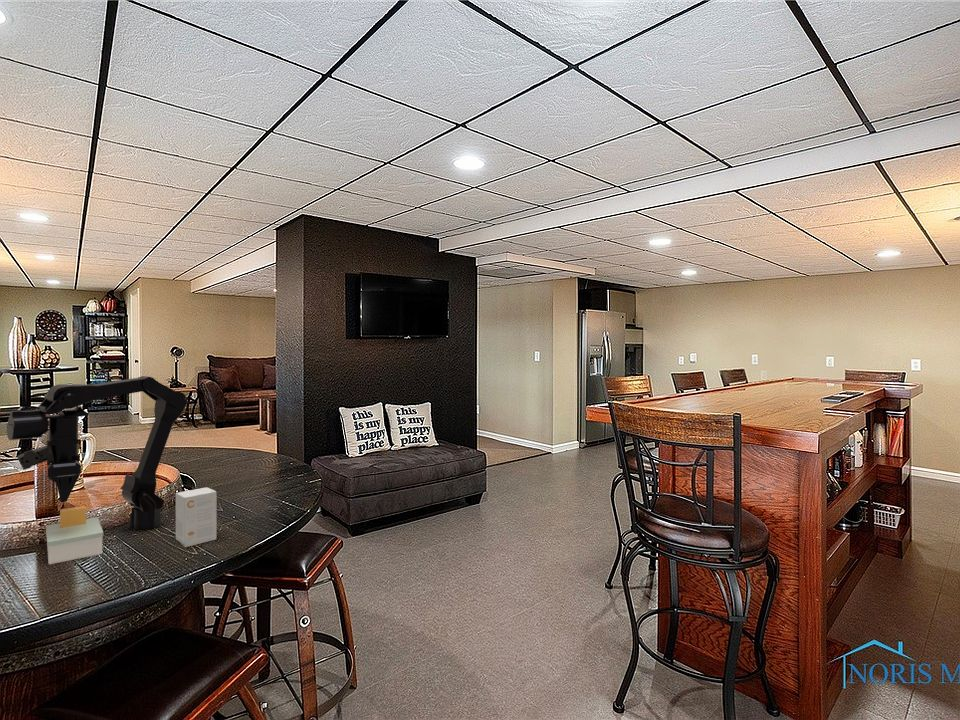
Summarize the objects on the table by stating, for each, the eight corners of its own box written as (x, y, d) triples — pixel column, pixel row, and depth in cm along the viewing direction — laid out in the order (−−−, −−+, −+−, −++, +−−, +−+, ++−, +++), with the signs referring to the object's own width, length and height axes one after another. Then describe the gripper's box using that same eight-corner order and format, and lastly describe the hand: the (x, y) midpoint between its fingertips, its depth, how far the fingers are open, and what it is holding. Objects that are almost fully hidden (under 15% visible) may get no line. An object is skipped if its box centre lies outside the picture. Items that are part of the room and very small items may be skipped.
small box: (207, 533, 142) (207, 486, 142) (217, 539, 138) (217, 491, 138) (174, 541, 136) (174, 492, 136) (183, 548, 132) (184, 497, 132)
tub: (47, 549, 130) (47, 529, 130) (96, 540, 136) (96, 521, 136) (48, 567, 119) (48, 546, 119) (102, 556, 126) (102, 536, 126)
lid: (46, 535, 130) (45, 509, 130) (97, 526, 137) (97, 502, 136) (47, 553, 119) (47, 524, 119) (103, 542, 126) (103, 515, 126)
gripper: (21, 433, 131) (20, 494, 131) (19, 444, 117) (18, 513, 117) (77, 429, 138) (76, 487, 139) (81, 439, 124) (80, 504, 124)
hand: (63, 497), depth 129 cm, fingers open, 9 cm apart
